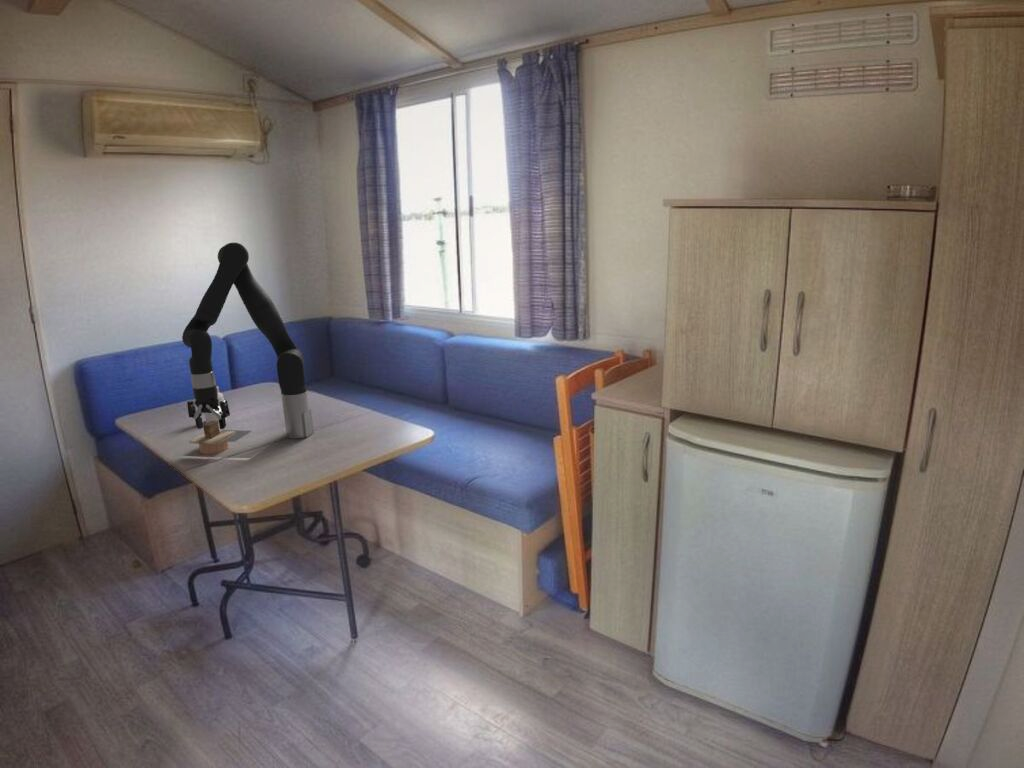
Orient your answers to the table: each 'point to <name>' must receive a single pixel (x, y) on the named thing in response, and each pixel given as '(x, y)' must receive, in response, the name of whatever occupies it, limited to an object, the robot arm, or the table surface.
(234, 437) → the mat
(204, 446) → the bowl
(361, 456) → the table surface
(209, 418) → the pill bottle
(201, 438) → the lid
